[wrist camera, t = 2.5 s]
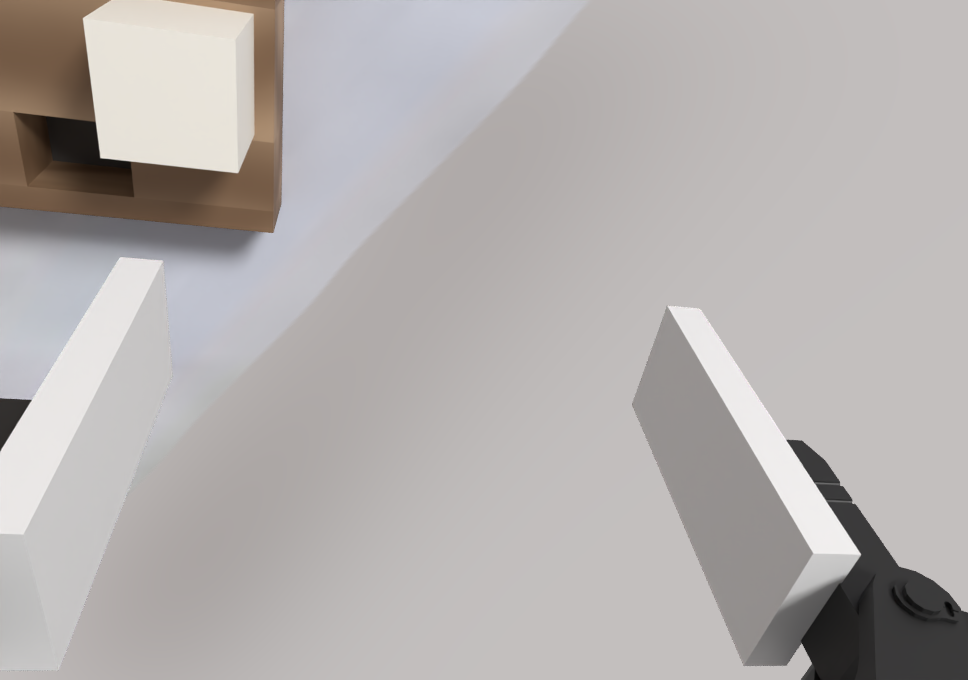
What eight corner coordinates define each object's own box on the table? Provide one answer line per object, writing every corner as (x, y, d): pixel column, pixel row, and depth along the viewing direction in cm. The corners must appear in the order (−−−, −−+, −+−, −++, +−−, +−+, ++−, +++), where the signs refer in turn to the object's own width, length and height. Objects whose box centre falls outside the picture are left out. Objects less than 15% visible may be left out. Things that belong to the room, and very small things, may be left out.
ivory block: (120, -6, 26) (82, 17, 23) (253, 13, 27) (235, 39, 23) (133, 119, 28) (100, 157, 25) (254, 134, 29) (238, 173, 26)
